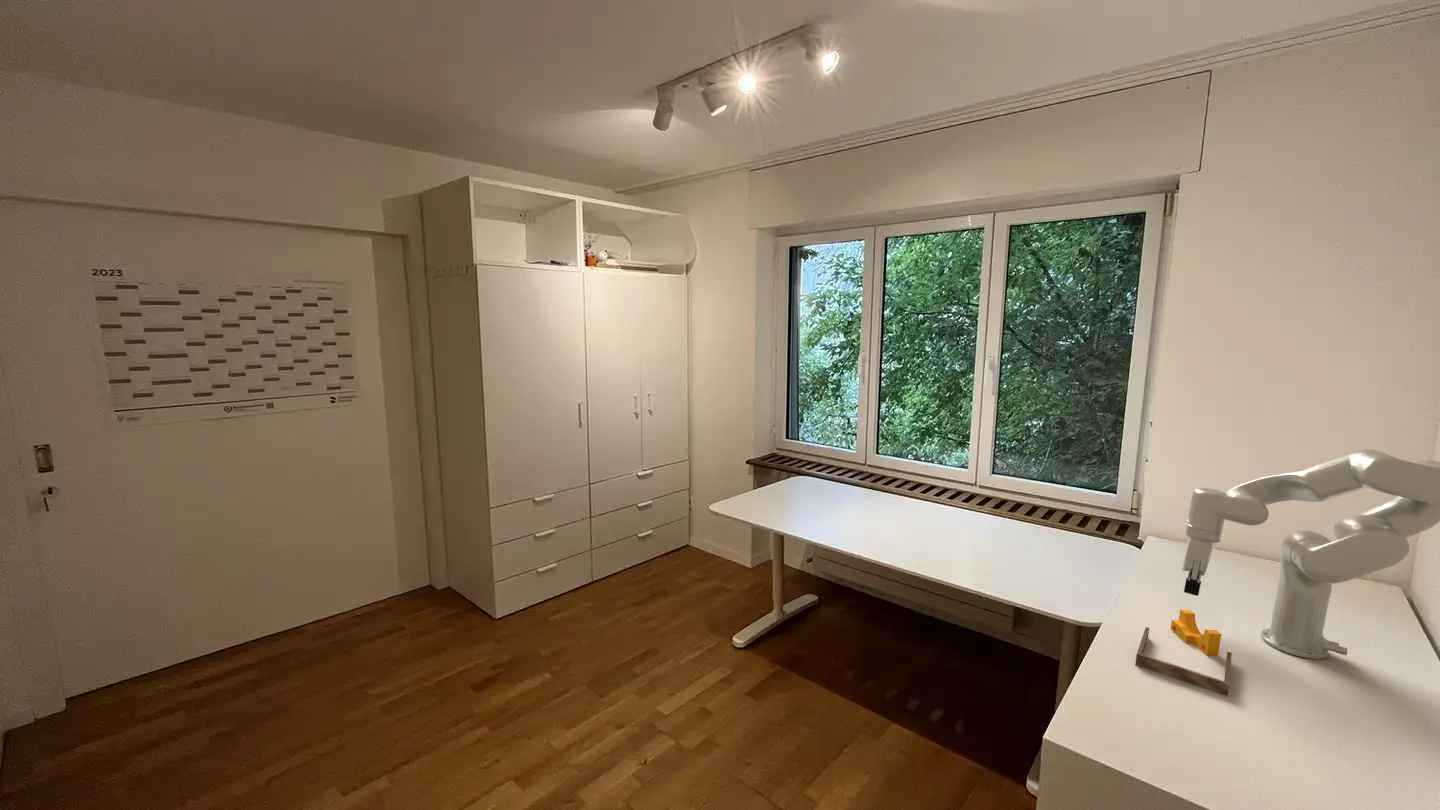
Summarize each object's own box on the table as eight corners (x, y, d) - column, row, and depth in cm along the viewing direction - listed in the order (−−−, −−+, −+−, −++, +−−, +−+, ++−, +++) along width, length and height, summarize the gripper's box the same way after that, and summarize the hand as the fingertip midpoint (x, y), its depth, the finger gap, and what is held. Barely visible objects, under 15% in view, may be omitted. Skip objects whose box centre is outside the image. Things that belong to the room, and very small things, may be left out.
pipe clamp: (1170, 630, 159) (1173, 608, 158) (1187, 631, 158) (1190, 610, 157) (1199, 655, 147) (1202, 632, 146) (1217, 657, 147) (1221, 634, 146)
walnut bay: (1229, 663, 144) (1231, 652, 143) (1227, 696, 132) (1229, 684, 131) (1144, 636, 156) (1145, 626, 155) (1135, 664, 143) (1136, 653, 143)
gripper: (1188, 521, 165) (1176, 579, 169) (1183, 536, 155) (1171, 597, 158) (1221, 529, 160) (1209, 588, 164) (1219, 544, 150) (1206, 608, 153)
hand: (1191, 593), depth 161 cm, fingers closed
